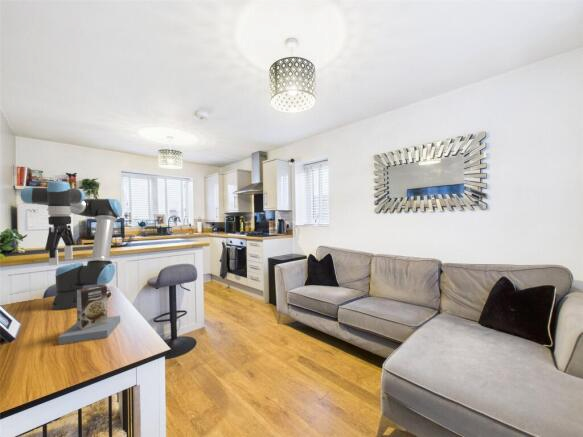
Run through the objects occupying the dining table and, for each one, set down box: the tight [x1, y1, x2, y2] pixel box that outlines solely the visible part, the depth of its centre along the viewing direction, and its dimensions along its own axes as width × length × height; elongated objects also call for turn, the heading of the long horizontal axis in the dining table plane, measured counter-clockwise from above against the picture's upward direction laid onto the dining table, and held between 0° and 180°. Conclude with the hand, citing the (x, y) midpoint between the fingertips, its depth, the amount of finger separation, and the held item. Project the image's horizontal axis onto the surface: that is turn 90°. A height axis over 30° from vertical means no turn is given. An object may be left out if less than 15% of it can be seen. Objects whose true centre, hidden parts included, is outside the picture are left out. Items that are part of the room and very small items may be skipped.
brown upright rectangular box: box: [76, 284, 108, 330], centre depth 107 cm, size 9×6×16 cm
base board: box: [58, 315, 121, 346], centre depth 106 cm, size 16×16×3 cm
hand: (61, 262), depth 112 cm, fingers open, 13 cm apart
